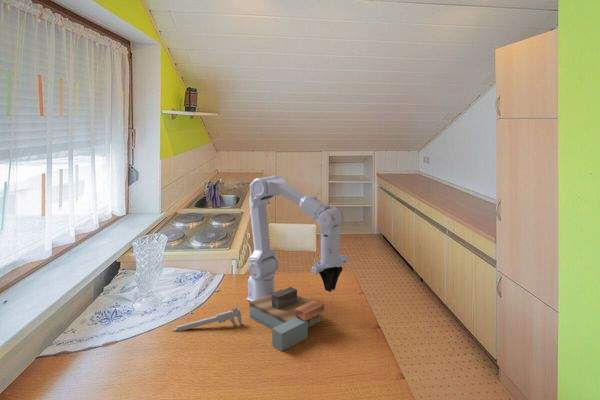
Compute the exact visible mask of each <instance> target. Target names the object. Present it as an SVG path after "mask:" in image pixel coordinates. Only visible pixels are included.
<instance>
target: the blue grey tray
mask: <svg viewBox="0 0 600 400" xmlns="http://www.w3.org/2000/svg"><path fill="white" fill-rule="evenodd" d="M249 318H250V319H252V320H254V321H256V322H258V323H260V324H262V325H264V326H265V327H267V328H269V329H271V342H272V343H271V346H272V347H274V348H276V349H277V350H279V351H280V352H284V351H285V350H287V349H289V348H291V347H292V346H295V345H297V344H298V343H301V342H303V341H304V340H306V339H308V337H309V336H308V335H309V333H308V332H309V331H308V330H309V329H308V328H310V327H312V326H314V325H316V324H317V323H320V322H322V313H321V314H319V319H318V320H316V321H314V322H312V323H308V321H304V320H302V319H299V318H297V317H295V318H293V319H291V320H289V321H287V322H285V323H283V322H281V321H279V320H277V319H275V318H273V317H271V316H269V315H267V314H265V313H263V312H261V311H259V310H257V309H255V308H253V307H251V306H250V305H249Z"/></svg>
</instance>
